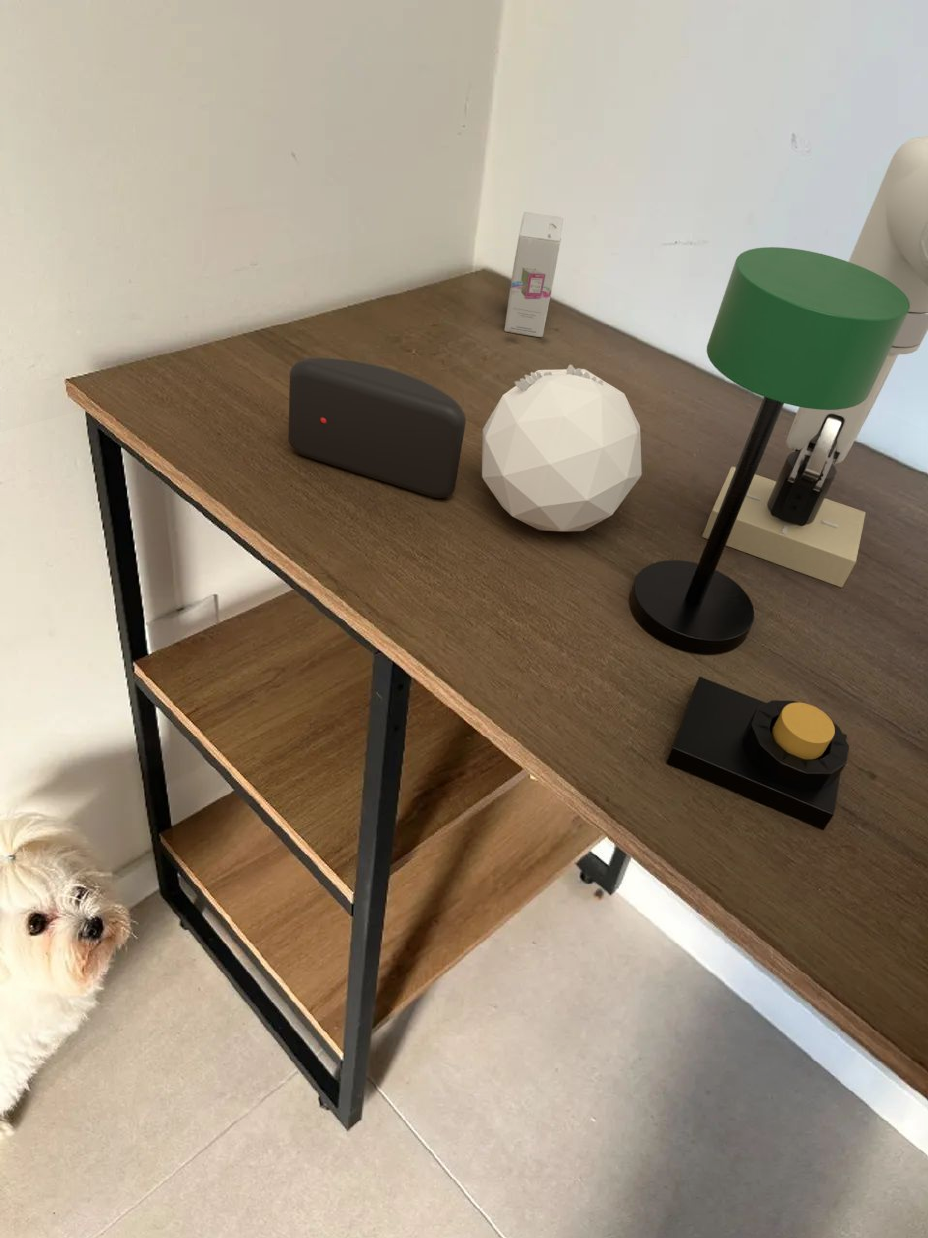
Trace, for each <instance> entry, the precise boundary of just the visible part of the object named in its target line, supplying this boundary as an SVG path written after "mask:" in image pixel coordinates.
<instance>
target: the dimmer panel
mask: <svg viewBox="0 0 928 1238" xmlns="http://www.w3.org/2000/svg"><path fill="white" fill-rule="evenodd" d="M735 470H736V466H730V469H729V472H728V474H727V475H726V478H725V481H724V482H723V485H722V487H721V489H720V492H719V494H718V497H717V498H716V500H715V503H714V504H713V507H712V510H711V512H710V515H709V518H708V520H707V522H706V525H705V527H704V530H703V533H702V535H701V537H702V538H705V539H706V540H708V538H709V535H710V533H711V530H712V528H713V525H714V523H715V520H716V518H717V515H718V513H719V510H720V508H721V505H722V503H723V500H724V497H725V495H726V492H727V490H728V487H729V485H730V482H731V480H732V477H733V475H734V472H735ZM776 482H777V480H773V479H770V478H767V477H764V476H762V475H759V474H756V473H755V475H754V477H753V480H752V482H751V485H750V487H749V490H748V492H747V494H746V497H745V499H744V502H743V504H742V507H741V509H740V511H739V514H738V516H737V519H736V521H735V524H734V526H733V528H732V531H731V533H730V536H729V538H728V541H727V543H726V545H725V547H726V546H727V547H729V548H732V549H734V550H737V551H740V552H742V553H746V554H748V555H751V556H753V557H756V558H758V559H759V558H760V559H762V560H764V561H768V562H770V563H773V564H775V565H778V566H781V567H783V568H787V569H789V570H792V571H795V572H797V573H800V574H803V575H806V576H808V577H811V578H814V579H817V580H819V581H822V582H825V583H828V584H830V585H833V586H836V587H839V588H843V587H844V585H845V583H846V582H847V580H848V577H849V576H850V575H851V572H852V571H853V569H854V566H855V565H856V564H857V558H858V555H859V554H858V553H859V550H860V549H859V548H860V544H861V538H862V534H863V528H864V524H865V519H866V511H864V510H861V509H857V508H854V507H851V506H849V505H846V504H843V503H840V502H837V501H834V500H831V499H828V498H826V497H825V498H824V500H823V503H822V505H821V507H820V509H819V511H818V513H817V515H816V517H815V519H814V521H813V522H812V523H810V524H806V525H804V526H799V525H796V524H792V523H788V522H785V521H783V520H781V519H779V518H777V517H774V516H772V515H771V512H770V510H769V509H768V506H767V503H768V500H769V498H770V496H771V493H772V491H773V489H774V486H775V484H776Z"/></svg>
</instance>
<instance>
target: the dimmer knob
mask: <svg viewBox="0 0 928 1238" xmlns="http://www.w3.org/2000/svg"><path fill="white" fill-rule="evenodd" d="M799 453H800V451H796V452H795V451H792V452H790V453H789V454H788V455H787V456H786V458H785V461H784V463H783V465H782V468H781V471H780V472H779V474H778V477H777V480H776V484H775V486H774V489H773V491H772V493H771V496H770V498H769V500H768V503H767V506H768V509H769V510H770V512H771V509H772V507H773V505H774V502H775V500H776V498H777V496H778V493H779V491H780V489H781V487H782V484H783V482H784V480H785V478H786V475H789V476H790V474H791V472H792V469H793V467H794V465H795V463H796V460H797V458H798V456H799ZM808 461H809V457H806V456H805V459H804V461H803V463H802V464H804V463H805V464H807V462H808ZM801 466H802V465H801ZM836 475H837V467H836V466H835V464H834V463H832V465H831V467H830V469H829V471H828V474H827V476H826V478H825V480H824V482H823V485H822V487H823V489H822V492H821V494H820V496H819V498H818V500H817V502H816V504H815V506H814V508H813V510H812V512H811V515H810V517H809V519H808V521H807V523H806V524H810V523H812V522H813V521H814V519H815V517H816V515H817V513H818V511H819V509H820V507H821V505H822V503H823V500H824V498H826V497H827V494H828V492H829V490H830V488H831V486H832V484H833V482H834V480H835V478H836ZM781 520H782V519H781ZM783 521H785V520H783ZM785 522H788V521H785ZM788 523H791V522H788ZM792 524H793V523H792Z"/></svg>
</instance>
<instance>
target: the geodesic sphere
mask: <svg viewBox="0 0 928 1238" xmlns="http://www.w3.org/2000/svg"><path fill="white" fill-rule="evenodd" d="M513 383H514V385H515V386H514V387H512V388H510V389H509V390H508V391H506V392H505V393H504V394H502V396H501V398H500V399H499V401H498V402H497V404H496V405H495V408H494V409H493V411H492V413H491V414H490V416H489V417H488V420H487V421H486V423H485V425H484V426H483V428H482V429H481V430H482V431H481V434H482V435H481V436H482V437H481V438H482V439H481V440H482V441H481V449H482V450H481V464H482V465H481V478H482V479H483V481H484V483H485V484H486V486H487V487H488V488H489V490H490V492H491V493H492V495H493V496H494V497H495V499H496V500H497V502H498V503H499V505H500V506H501V508H503V510H505V511H506V512H507V513H508V514H509V515H510V516H511V517H512V518H514V519H516V520H519V521H521V522H522V523H524V524H526V525H528V526H530V527H532V528H534V529H535V530H538V531H548V532H549V531H550V532H584V531H586V530H587V529H590V528H592V527H593V526H596V524H599V523H601V522H603V521H604V520H606V519H608V518H610V517H612V516H613V515H614V513H615V512H616V511H617V509H618V508H619V506H620V505H621V504H622V502H623V501H624V500H625V498H626V497H627V496H628V494H629V493H630V492H631V490H632V489H633V488H634V487H635V485H636V484H637V482H638V481H639V479H640V478H641V477H642V476H643V473H642V472H643V468H642V443H641V426H640V423H639V421H638V419H637V417H636V415H635V413H634V411H633V408H632V406H631V405H630V402H629V401H628V398H627V396H626V394H625V393H624V391H623V392H622V391H621V390H619V389H618V388H616V387H614V385H611V384H610V383H608V382H606V381H604V380H603V379H602V378H600V377H598V376H597V375H595V374H594V373H592V372H590V371H589V370H587V369H585V368H580V367H577V368H575V366H574V365H573V364H569V365H567V368H566V369H565V368H564V369H563V368H562V369H537V370H536V371H534V372H533V371H531V372H530V375H529V374H524V377H522V378H519V380H514V382H513Z"/></svg>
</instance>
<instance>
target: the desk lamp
mask: <svg viewBox="0 0 928 1238" xmlns="http://www.w3.org/2000/svg"><path fill="white" fill-rule="evenodd" d="M909 309H910V303H909V300H908V298H907V297H906V295H905V294H904V293H903V292H902V291H901V290H900V289H899V288H898V287H897V286H895V285H894V284H893V283H891V282H890V281H888V280H887V279H885V278H883V277H881V276H880V275H878V274H876V273H874V272H872V271H870V270H867V269H865V268H863V267H861V266H858V265H856V264H853V263H850V262H849V261H847V260H844V259H841V258H837V257H834V256H832V255H827V254H823V253H819V252H815V251H811V250H805V249H798V248H792V247H791V248H790V247H779V246H777V247H776V246H775V247H774V246H769V247H767V246H765V247H755V248H751V249H748V250H745V251H743V252H742V253H740V254H739V255H738V256H736V259H735V261H734V265H733V267H732V270H731V274H730V276H729V279H728V282H727V285H726V288H725V291H724V294H723V297H722V300H721V303H720V306H719V308H718V312H717V314H716V317H715V320H714V323H713V327H712V329H711V332H710V335H709V338H708V342H707V345H706V354H707V358H708V359H709V361H710V363H711V364H712V365H713V367H714V368H715V369H716V370H717V371H718V372H719V373H720V374H721V375H723V376H724V377H725V378H726V379H729V380H730V381H731V382H733V383H734V384H736V385H738V386H740V387H742V388H744V389H746V390H747V391H749V392H751V393H754V394H756V395H759V396H761V397H763V399H762V402H761V404H760V407H759V409H758V411H757V414H756V417H755V419H754V422H753V424H752V427H751V429H750V431H749V434H748V437H747V439H746V442H745V444H744V447H743V448H742V449H743V450H742V452H741V454H740V457H739V459H738V462H737V464H736V466H735V468H736V470H735V472H734V475H733V477H732V480H731V482H730V485H729V487H728V490H727V492H726V495H725V497H724V500H723V503H722V505H721V508H720V510H719V513H718V515H717V518H716V520H715V523H714V525H713V528H712V530H711V533H710V535H709V538H708V539H707V541H706V543H705V546H704V548H703V551H702V554H701V556H700V558H699V561H698V563H697V562H694V561H688V560H681V559H667V560H660V561H656V562H653V563H650V564H648V565H646V566H645V567H643V568H642V569H641V570H639V572H638V573H637V575H636V576H635V579H634V581H633V584H632V586H631V590H630V592H629V598H628V604H629V608H630V612H631V614H632V616H633V618H634V619H635V620H636V622H637V623H638V625H639V626H640V627H641V628H642V629H643V630H644V631H645V632H647V633H648V634H649V636H652V637H653V638H654V639H656V640H658V641H659V642H660V643H663V644H665V645H667V646H669V647H670V648H673V649H676V650H679V651H682V652H686V653H689V654H695V655H706V656H707V655H709V656H710V655H711V656H712V655H713V656H714V655H721V654H724V653H729V652H731V651H734V650H735V649H737V648H738V647H740V646H741V645H742V644H743V643H744V642H745V641H746V639H747V637H748V634H749V632H750V630H751V628H752V626H753V624H754V621H755V607H754V605H753V602H752V600H751V598H750V596H749V595H748V593H746V591H745V589H743V588H742V587H741V586H740V584H738V583H737V582H736V581H734V579H732V578H730V577H729V576H728V575H726V574H724V573H722V572H721V571H719V570H716V569H717V567H718V564H719V562H720V560H721V557H722V555H723V553H724V551H725V547H726V543H727V541H728V538H729V536H730V533H731V531H732V528H733V526H734V524H735V521H736V519H737V516H738V514H739V511H740V509H741V507H742V504H743V502H744V499H745V497H746V494H747V492H748V490H749V487H750V485H751V482H752V480H753V477H754V475H755V474H756V472H757V471H758V468H759V465H760V463H761V460H762V458H763V456H764V454H765V450H766V448H767V446H768V443H769V441H770V438H771V436H772V434H773V431H774V429H775V427H776V424H777V421H778V419H779V417H780V415H781V412H782V409H783V407H784V404H785V405H790V406H793V407H798V408H799V407H804V408H811V409H821V410H838V409H846V408H850V407H854V406H856V405H859V404H860V403H862V402H863V401H865V399H866V398H867V397H868V395H869V393H870V391H871V389H872V387H873V385H874V383H875V381H876V378H877V376H878V374H879V372H880V370H881V368H882V366H883V364H884V362H885V360H886V357H887V355H888V353H889V351H890V349H891V347H892V345H893V343H894V341H895V339H896V336H897V334H898V332H899V330H900V328H901V326H902V324H903V322H904V320H905V318H906V315H907V313H908V311H909Z"/></svg>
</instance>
